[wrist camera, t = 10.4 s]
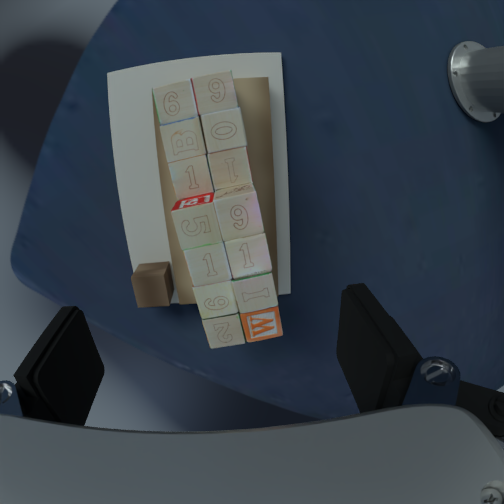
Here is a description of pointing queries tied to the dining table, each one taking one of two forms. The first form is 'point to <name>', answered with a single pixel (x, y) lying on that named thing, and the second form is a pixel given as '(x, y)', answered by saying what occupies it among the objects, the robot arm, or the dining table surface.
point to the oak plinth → (262, 169)
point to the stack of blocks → (218, 209)
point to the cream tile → (145, 152)
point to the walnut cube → (153, 284)
